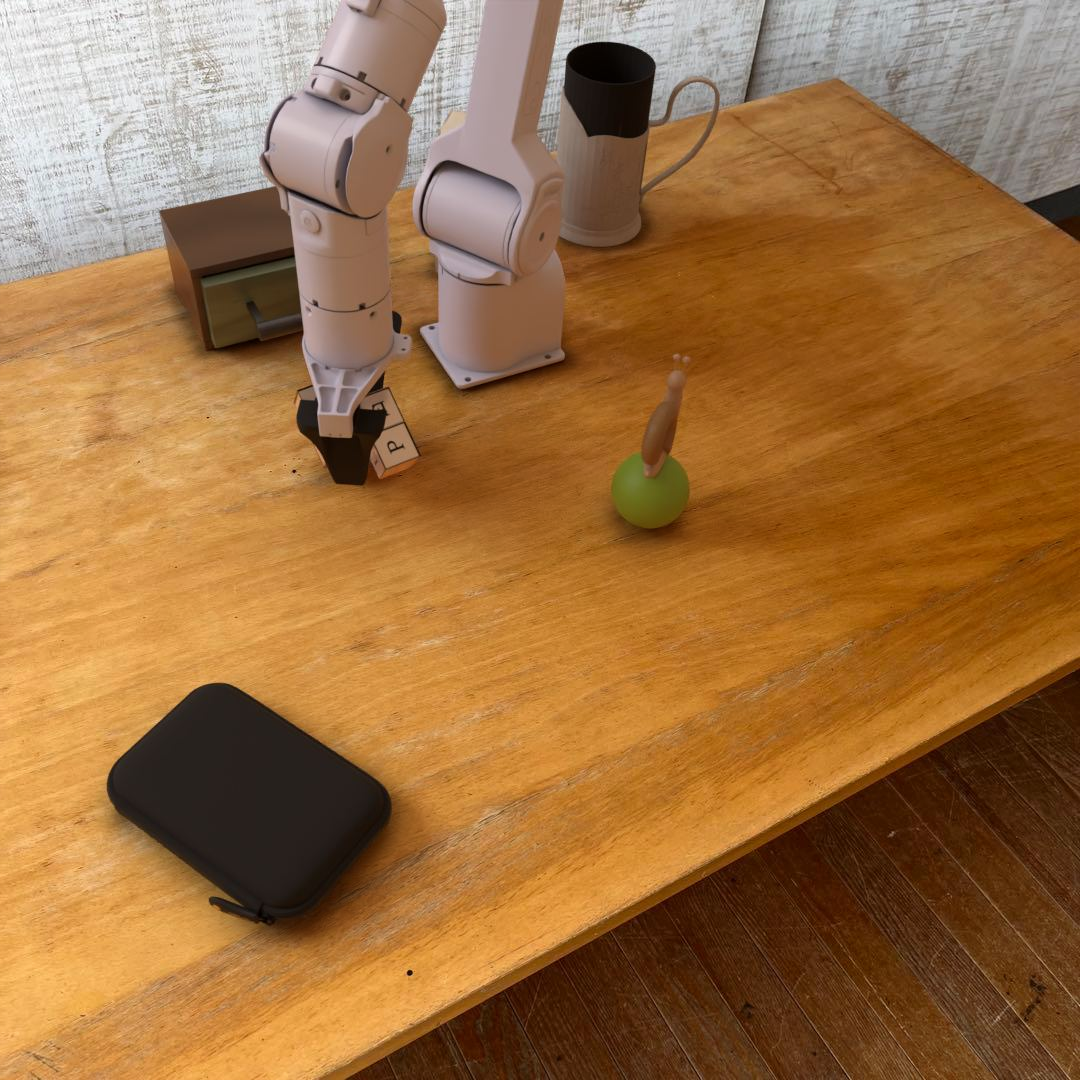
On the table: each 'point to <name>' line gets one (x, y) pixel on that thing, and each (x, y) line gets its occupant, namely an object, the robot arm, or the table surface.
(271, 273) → the drawer
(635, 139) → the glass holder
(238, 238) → the cabinet
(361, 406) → the building blocks
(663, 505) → the snail figurine
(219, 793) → the carrying case
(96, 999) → the table surface
